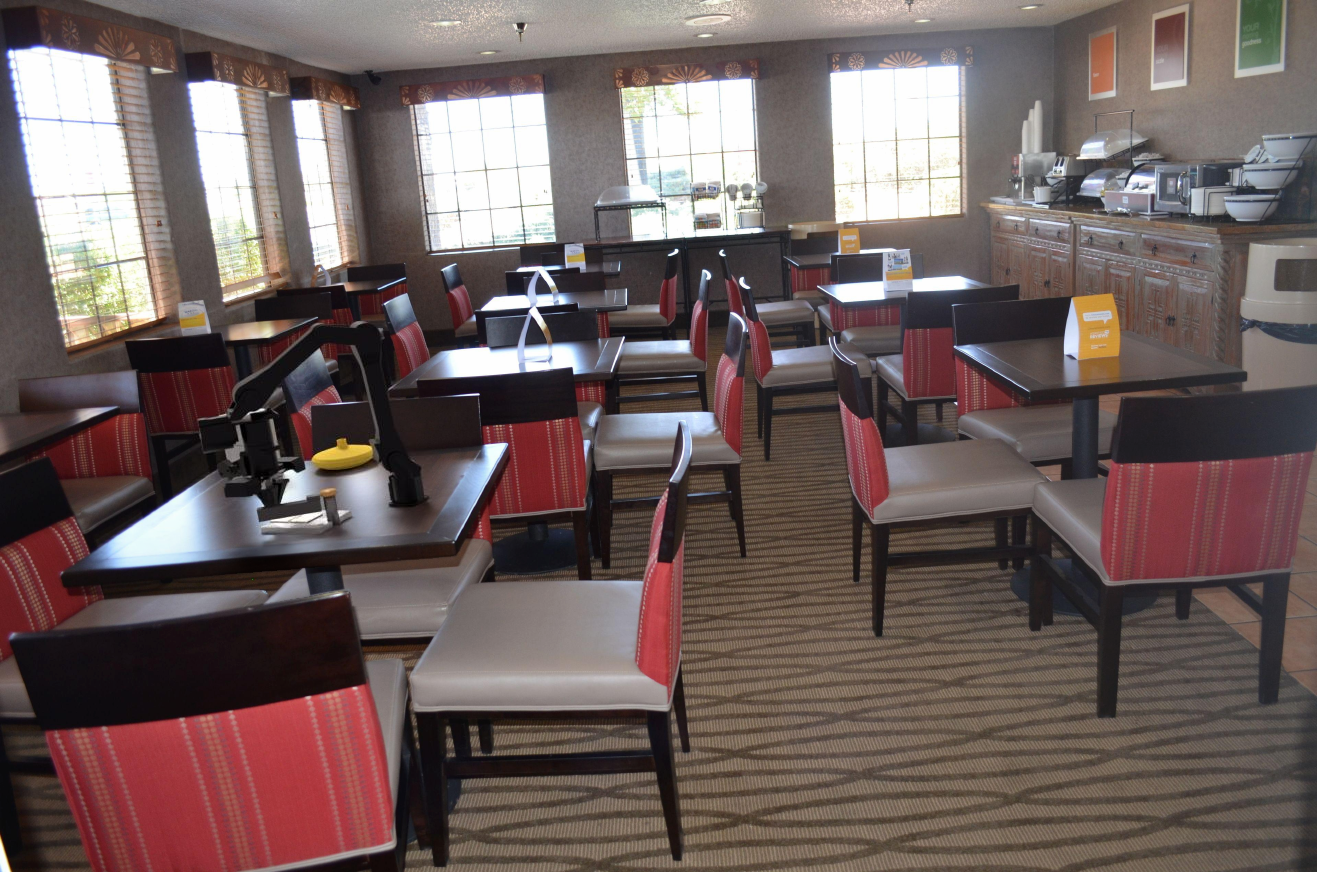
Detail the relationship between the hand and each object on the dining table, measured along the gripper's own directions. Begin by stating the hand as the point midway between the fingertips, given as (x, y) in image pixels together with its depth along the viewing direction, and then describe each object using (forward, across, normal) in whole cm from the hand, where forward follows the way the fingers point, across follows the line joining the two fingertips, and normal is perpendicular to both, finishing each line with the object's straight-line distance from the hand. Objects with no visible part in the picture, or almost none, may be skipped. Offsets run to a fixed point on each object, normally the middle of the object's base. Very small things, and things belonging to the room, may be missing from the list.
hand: (274, 516), depth 195 cm
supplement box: (+4, -40, -35) cm, 53 cm away
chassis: (+3, -4, +5) cm, 7 cm away
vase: (+4, -48, -15) cm, 51 cm away
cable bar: (0, 0, +6) cm, 6 cm away
